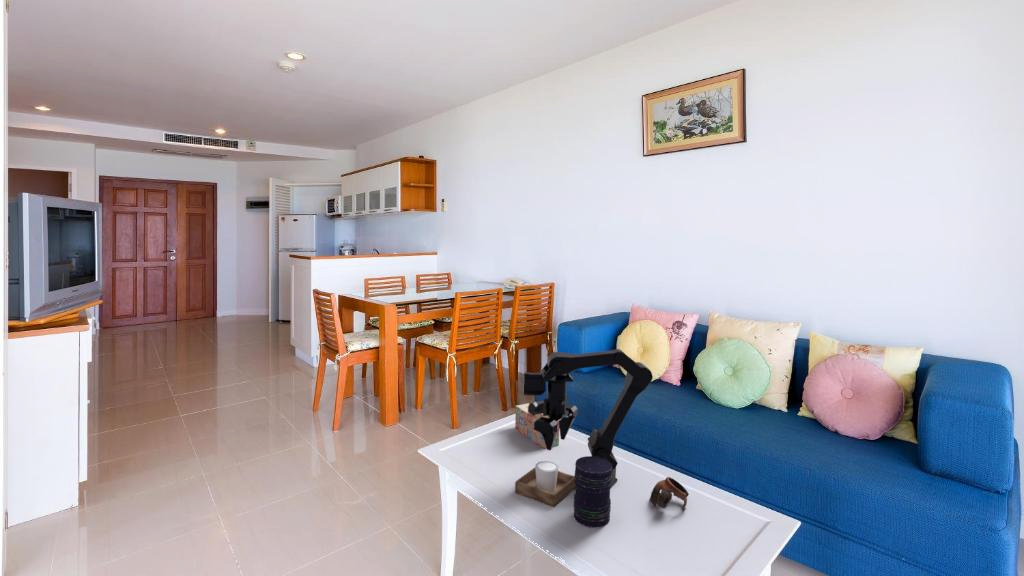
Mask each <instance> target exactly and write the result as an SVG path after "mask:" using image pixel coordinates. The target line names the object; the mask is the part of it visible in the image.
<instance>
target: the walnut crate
mask: <svg viewBox="0 0 1024 576" xmlns="http://www.w3.org/2000/svg"><path fill="white" fill-rule="evenodd" d="M574 479H575V475H572V474H569V473H566V472H562V471H560V470H558V474H557V482H556V490H555V491H554V492H552V493H550V492H547V491H544V490H542V489H539V488H537V484H536V469H535V467H533V468H532V469H530V470H528V472H526V473H525V474H524V475H522V476H521V477H520V478H519V479H517V480H515V483H514V485H515V487H514V489H515V491H514V492H515V494H516V495H520V496H523V497H525V498H527V499H531V500H534V501H535V502H538V503H541V504H544V505H547V506H549V507H552V508H556V507H557V506H558V505H559V504H560V503H561V502H562V501H563V500H565V499H566V498H567V497H568V496H569V495H570V494H571V493H572V492H573V491H574V490H575V487H576V485H575V480H574Z"/></svg>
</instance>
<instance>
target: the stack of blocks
mask: <svg viewBox="0 0 1024 576" xmlns="http://www.w3.org/2000/svg"><path fill="white" fill-rule="evenodd" d="M529 404H530V403H524V404H519V405H517V404H516V405H515V411H514V413H515V425H514V426H515V429H516V430H518V432H520V433H521V434H523V435H524V436H526V437H527V438H529V439H530V440H531V441H533V442H535V443H536V444H537V445H538V446H540V447H541V448H542V449H544V450H547V447H546V444H545V441H544V438H543V436H542V434H541V433H540V432H538V431H536V430H534V422H535V421H536V420H538V419H539V418H541V417H545V418H549V417H548V416H543V413H542V414H536V415H534V416H532V414H530V413H529V412H528V409H529V408H528V407H529ZM557 423H558V427H557V430H558V432H557V435H556V437H555V440H554V443H553V446H552V448H555V447H558V446H559V445H560V427H559V421H558V422H557Z"/></svg>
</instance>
